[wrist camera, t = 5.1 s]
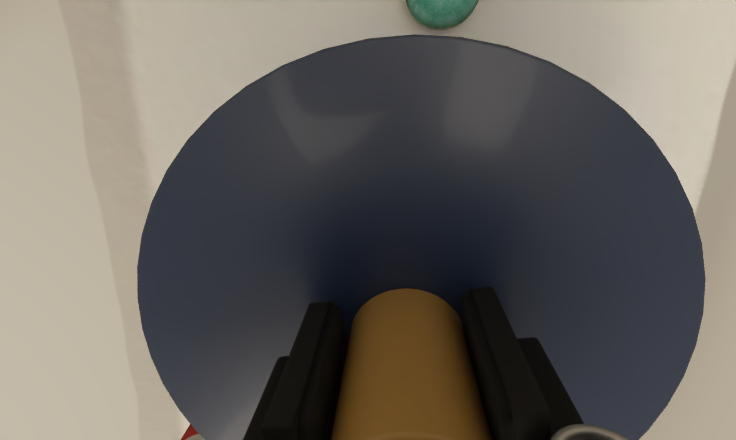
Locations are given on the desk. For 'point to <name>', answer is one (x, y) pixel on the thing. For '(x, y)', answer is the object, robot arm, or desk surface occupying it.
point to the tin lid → (420, 240)
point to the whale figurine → (440, 12)
